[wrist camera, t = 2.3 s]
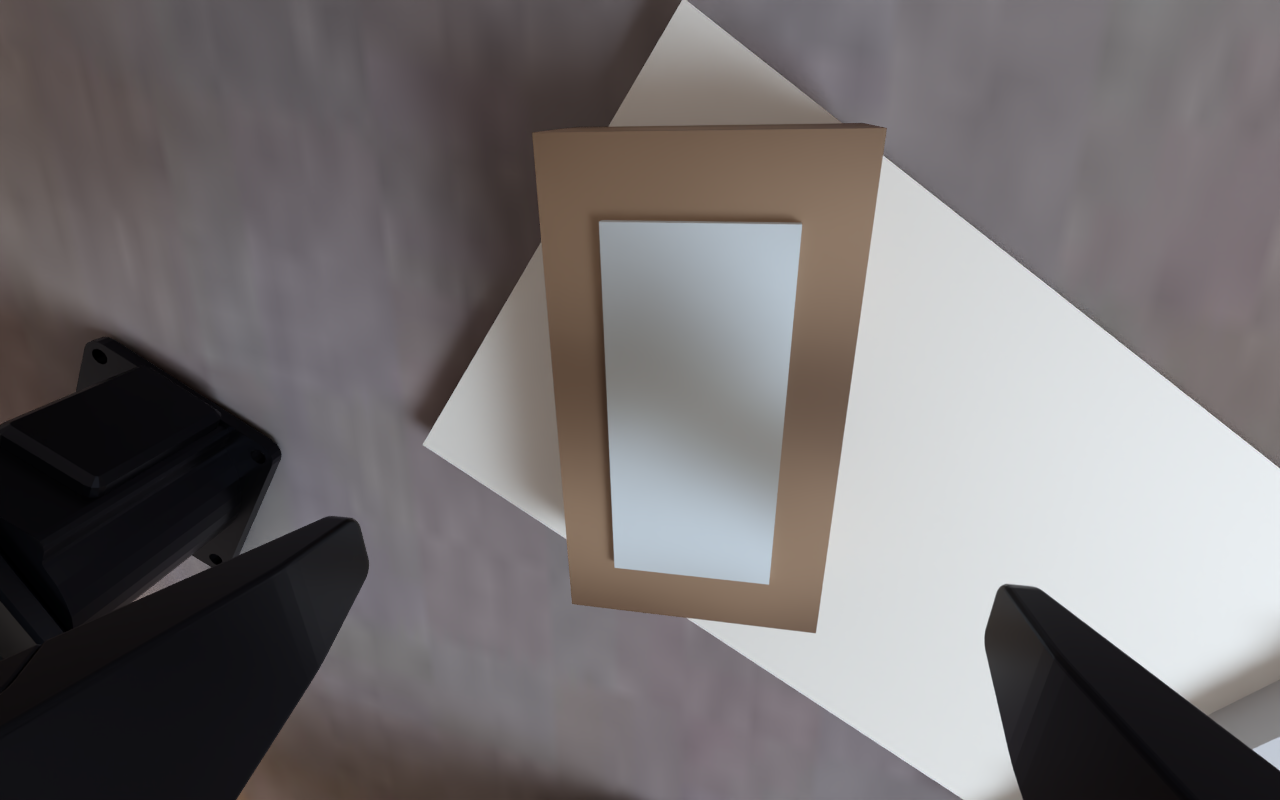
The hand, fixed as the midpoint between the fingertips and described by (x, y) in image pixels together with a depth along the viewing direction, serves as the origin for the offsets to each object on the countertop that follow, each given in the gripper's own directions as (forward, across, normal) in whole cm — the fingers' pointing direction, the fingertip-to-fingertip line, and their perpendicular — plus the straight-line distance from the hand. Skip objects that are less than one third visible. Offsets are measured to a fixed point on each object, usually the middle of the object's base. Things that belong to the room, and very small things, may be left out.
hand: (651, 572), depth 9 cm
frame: (+8, 0, 0) cm, 8 cm away
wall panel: (+8, -6, +4) cm, 11 cm away
